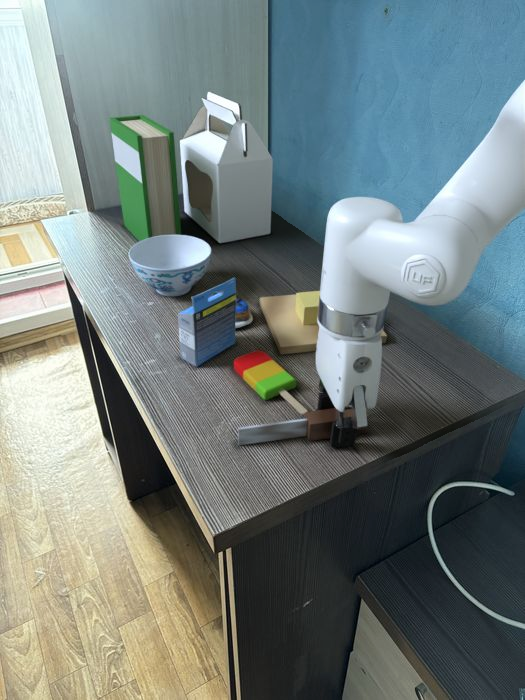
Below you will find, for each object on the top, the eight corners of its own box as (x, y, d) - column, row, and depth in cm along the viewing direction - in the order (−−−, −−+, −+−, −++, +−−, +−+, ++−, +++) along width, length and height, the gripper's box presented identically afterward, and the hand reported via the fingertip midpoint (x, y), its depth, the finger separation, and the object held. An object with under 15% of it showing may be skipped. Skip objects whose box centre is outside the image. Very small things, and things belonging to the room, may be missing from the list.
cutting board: (352, 296, 98) (353, 289, 98) (385, 343, 86) (387, 335, 85) (259, 304, 95) (259, 297, 94) (280, 354, 82) (280, 347, 82)
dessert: (263, 312, 91) (250, 295, 86) (246, 344, 90) (231, 329, 85) (228, 301, 95) (214, 284, 90) (211, 331, 94) (195, 316, 89)
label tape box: (219, 335, 87) (217, 268, 79) (237, 344, 84) (236, 277, 77) (179, 358, 81) (173, 288, 74) (197, 368, 79) (192, 298, 72)
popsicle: (260, 357, 82) (260, 347, 81) (320, 411, 72) (322, 400, 71) (230, 368, 79) (230, 358, 78) (289, 426, 69) (289, 416, 68)
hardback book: (182, 246, 115) (173, 132, 101) (150, 253, 112) (137, 136, 98) (153, 220, 127) (142, 114, 113) (124, 225, 124) (109, 117, 110)
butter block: (333, 306, 92) (335, 289, 90) (342, 321, 88) (344, 303, 86) (295, 310, 91) (296, 292, 89) (303, 325, 87) (304, 307, 85)
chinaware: (228, 286, 100) (228, 249, 96) (171, 317, 91) (167, 277, 86) (175, 263, 108) (172, 228, 104) (117, 289, 98) (111, 252, 94)
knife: (359, 420, 70) (362, 404, 69) (366, 433, 68) (369, 416, 67) (236, 437, 67) (236, 420, 65) (239, 451, 65) (239, 434, 64)
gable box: (183, 211, 132) (175, 90, 116) (230, 204, 137) (229, 87, 121) (219, 244, 116) (216, 109, 100) (271, 234, 122) (275, 104, 105)
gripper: (416, 351, 52) (387, 474, 62) (356, 274, 65) (340, 386, 76) (345, 360, 51) (327, 483, 61) (299, 279, 64) (291, 392, 75)
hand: (335, 428), depth 68 cm, fingers open, 4 cm apart
